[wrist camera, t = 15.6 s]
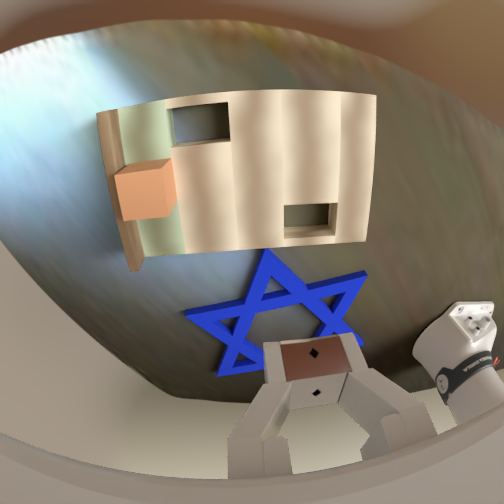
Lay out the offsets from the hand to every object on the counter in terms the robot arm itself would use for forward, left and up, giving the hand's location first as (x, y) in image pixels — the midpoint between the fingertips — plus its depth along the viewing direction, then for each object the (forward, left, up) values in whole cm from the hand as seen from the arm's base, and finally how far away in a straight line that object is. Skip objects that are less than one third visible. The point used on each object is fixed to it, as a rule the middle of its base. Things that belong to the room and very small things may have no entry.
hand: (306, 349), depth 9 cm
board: (0, 0, -25) cm, 25 cm away
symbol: (-3, +25, -26) cm, 36 cm away
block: (+11, 0, -22) cm, 25 cm away
